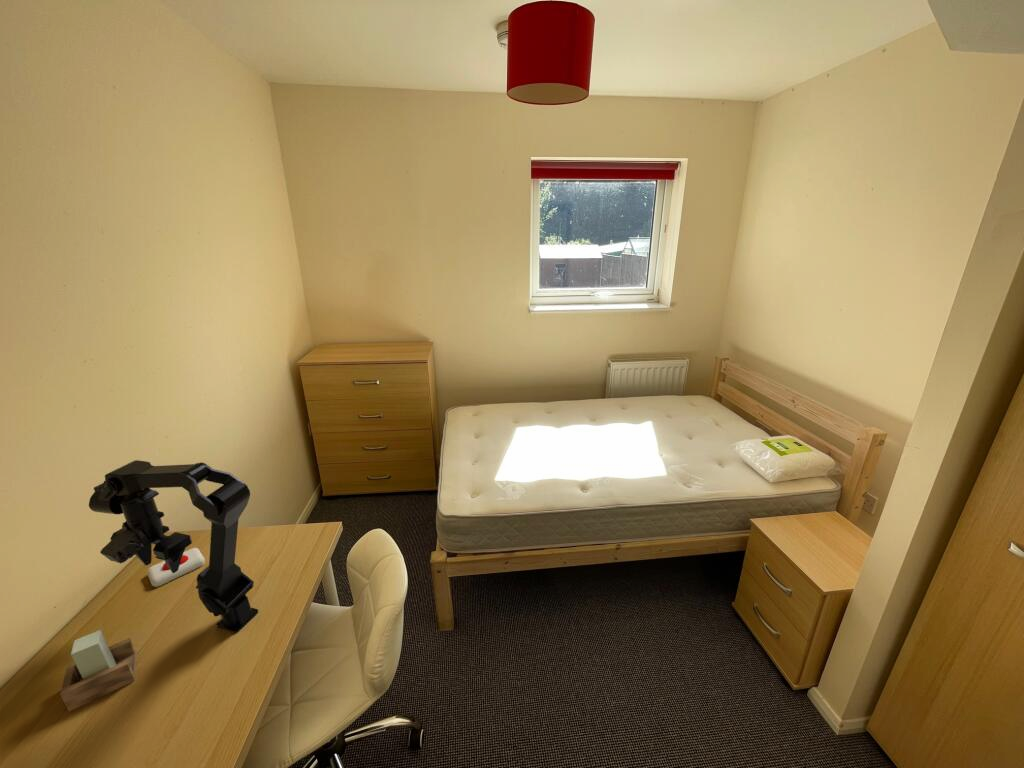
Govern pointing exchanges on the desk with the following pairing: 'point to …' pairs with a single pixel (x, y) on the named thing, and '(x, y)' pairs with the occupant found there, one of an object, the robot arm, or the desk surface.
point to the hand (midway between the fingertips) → (161, 568)
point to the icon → (189, 562)
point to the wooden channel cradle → (99, 677)
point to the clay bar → (92, 654)
